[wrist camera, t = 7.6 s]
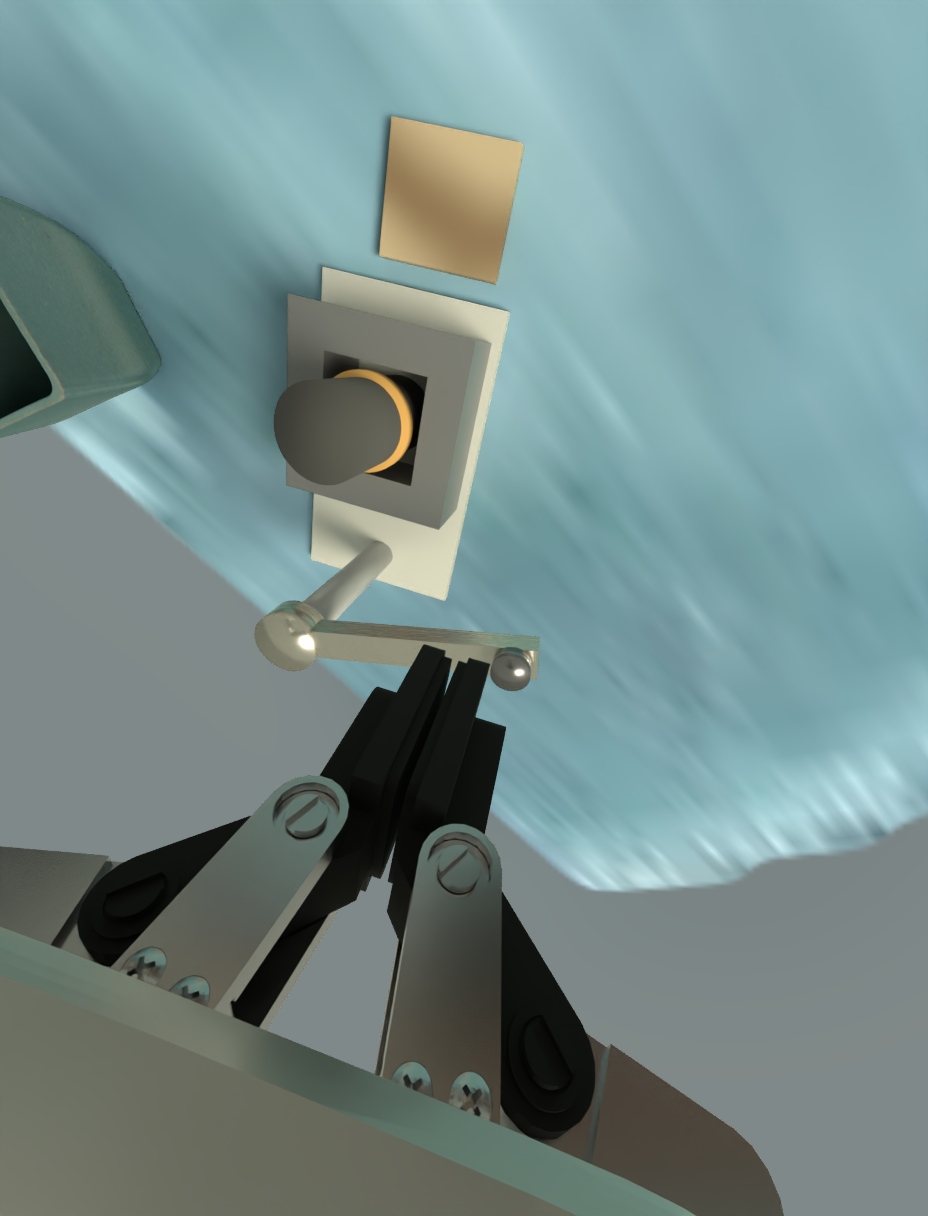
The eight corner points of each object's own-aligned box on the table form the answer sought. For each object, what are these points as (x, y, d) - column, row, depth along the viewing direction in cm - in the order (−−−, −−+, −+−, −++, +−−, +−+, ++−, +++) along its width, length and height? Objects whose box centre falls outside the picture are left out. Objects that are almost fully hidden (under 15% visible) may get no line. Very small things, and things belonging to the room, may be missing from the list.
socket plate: (328, 268, 24) (179, 214, 15) (510, 312, 23) (464, 281, 14) (315, 556, 32) (216, 627, 24) (447, 596, 31) (394, 686, 23)
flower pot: (205, 388, 28) (65, 397, 21) (111, 428, 31) (-42, 449, 24) (123, 219, 25) (-82, 155, 17) (26, 281, 28) (-186, 250, 20)
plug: (364, 359, 25) (266, 357, 17) (443, 379, 24) (378, 387, 17) (357, 444, 27) (268, 476, 20) (429, 464, 27) (366, 505, 19)
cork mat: (396, 122, 20) (391, 116, 20) (524, 148, 20) (522, 142, 19) (383, 258, 23) (379, 255, 22) (496, 284, 22) (494, 282, 22)
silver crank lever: (281, 651, 23) (256, 675, 21) (266, 598, 22) (238, 619, 20) (538, 676, 20) (534, 707, 18) (540, 617, 19) (536, 645, 17)
